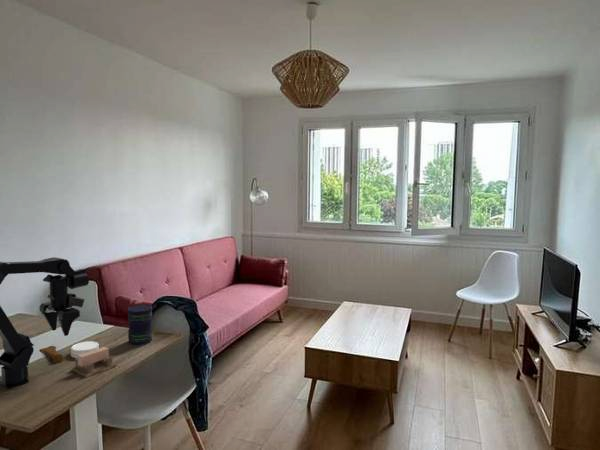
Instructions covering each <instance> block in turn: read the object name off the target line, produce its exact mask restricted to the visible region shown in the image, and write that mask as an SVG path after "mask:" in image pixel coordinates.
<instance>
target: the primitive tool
mask: <svg viewBox="0 0 600 450" xmlns="http://www.w3.org/2000/svg"><path fill="white" fill-rule="evenodd" d="M56 348H57V346H55V345H50V346H47V347H43V348H39V352H42V353H43V354H44V355H47V356H48V357H49V358H51V359H52V362H53V363H54V364H59V363H62V362H64V361H63V360H64V355H63V354H61V353H59V352H58V351H57V349H56Z"/></svg>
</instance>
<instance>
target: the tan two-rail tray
mask: <svg viewBox="0 0 600 450" xmlns="http://www.w3.org/2000/svg"><path fill="white" fill-rule="evenodd" d="M74 359H75V360H74V363H75V364H74V366H73V367H71V370H72V371H73V372H75V373H77V374H79V375H81V376H83V377H84V378H89V377H91V376H94V375H96V374H99V373H102V372H104V371H108V370H110V369H113V368H116V367H117V365H116V363H113V357H112V356H109V357H108V358H106V359H103V360H100V361H97V362H94V363H91V364H88V365H86V366H83V367H82V366H80V365H78V358H74Z"/></svg>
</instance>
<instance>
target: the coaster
mask: <svg viewBox="0 0 600 450" xmlns="http://www.w3.org/2000/svg"><path fill="white" fill-rule="evenodd" d="M99 346H100V344H99V343H98V342H96V341H91V340H89V341H88V340H87V341H82V342H78V343H76V344H73V345H72V346H71V347H70V356H71V357H72V358H73V359H78V355H80V354H83V353H86V352H89V351H92V350H95V349H99V348H100V347H99Z"/></svg>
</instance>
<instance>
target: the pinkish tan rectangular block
mask: <svg viewBox="0 0 600 450" xmlns="http://www.w3.org/2000/svg"><path fill="white" fill-rule="evenodd" d="M108 357H110V350H109V348H108V347H106V346H103V347H99V349H95V350H92V351H89V352H86V353H83V354H80V355H78V358H77V359H78V365H80V366H82V367H83V366H86V365H88V364H91V363H94V362H97V361H100V360H103V359H106V358H108Z"/></svg>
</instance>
